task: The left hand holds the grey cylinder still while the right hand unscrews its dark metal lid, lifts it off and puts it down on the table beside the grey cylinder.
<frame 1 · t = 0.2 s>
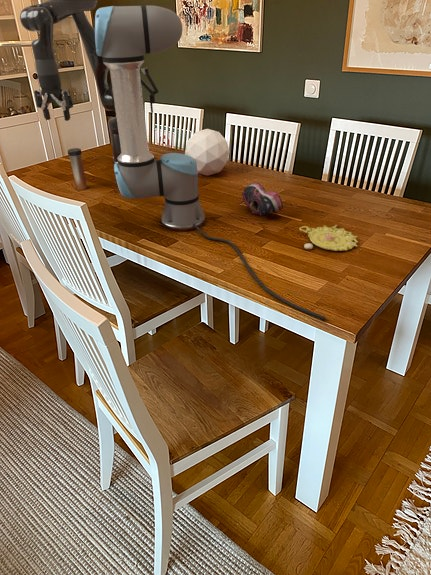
left hand: (57, 120, 168), 29 cm above the table, tool pointing down, fingers open, 8 cm apart
right hand: (135, 113, 181), 28 cm above the table, tool pointing down, fingers open, 13 cm apart
lid: (74, 150, 180), point 16 cm above the table, screwed on, not yet turned
athletic shoe: (257, 211, 163), on the table
sphere: (208, 173, 200), on the table
decorative object: (328, 239, 142), on the table
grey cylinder: (81, 188, 189), on the table
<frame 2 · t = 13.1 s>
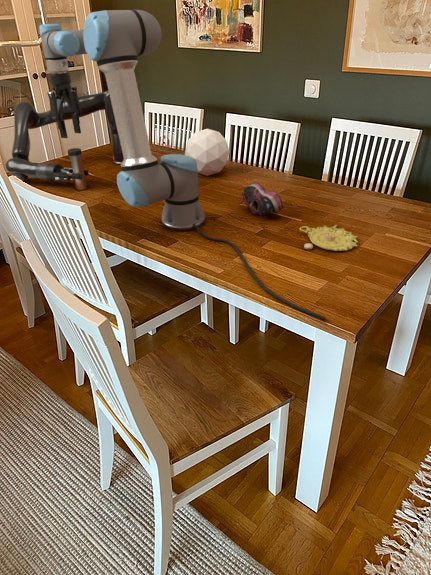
left hand: (84, 175, 185), 6 cm above the table, tool horizontal, fingers closed on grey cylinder, 4 cm apart
right hand: (71, 135, 177), 22 cm above the table, tool pointing down, fingers open, 7 cm apart
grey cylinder: (81, 188, 189), on the table, touching left hand
everything else where it was.
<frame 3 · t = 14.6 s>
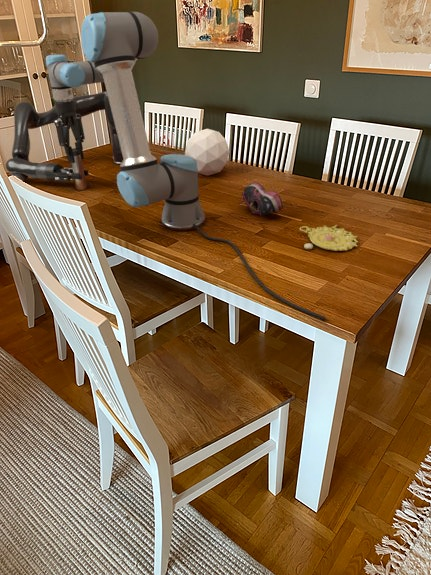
left hand: (84, 175, 185), 6 cm above the table, tool horizontal, fingers closed on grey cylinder, 4 cm apart
right hand: (76, 160, 182), 12 cm above the table, tool pointing down, fingers closed on lid, 5 cm apart
lid: (74, 150, 180), point 16 cm above the table, screwed on, not yet turned, touching right hand
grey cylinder: (81, 188, 189), on the table, touching left hand
everything else where it was.
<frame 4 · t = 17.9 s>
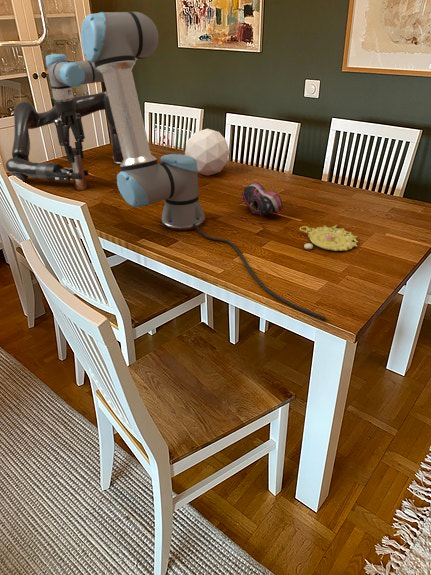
left hand: (84, 175, 185), 6 cm above the table, tool horizontal, fingers closed on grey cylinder, 4 cm apart
right hand: (76, 160, 182), 12 cm above the table, tool pointing down, fingers closed on lid, 5 cm apart
lid: (74, 150, 180), point 16 cm above the table, turned 96° so far, risen 0.2 cm, still on its thread, touching right hand
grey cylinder: (81, 188, 189), on the table, touching left hand
everything else where it was.
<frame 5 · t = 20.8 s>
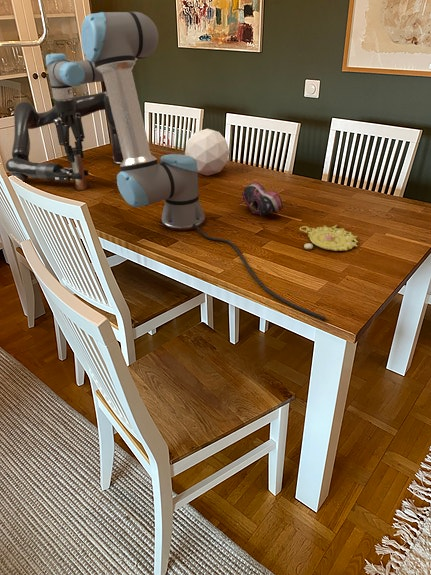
left hand: (84, 175, 185), 6 cm above the table, tool horizontal, fingers closed on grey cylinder, 4 cm apart
right hand: (76, 159, 182), 12 cm above the table, tool pointing down, fingers closed on lid, 5 cm apart
lid: (74, 149, 180), point 16 cm above the table, turned 192° so far, risen 0.3 cm, still on its thread, touching right hand
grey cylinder: (81, 188, 189), on the table, touching left hand
everything else where it was.
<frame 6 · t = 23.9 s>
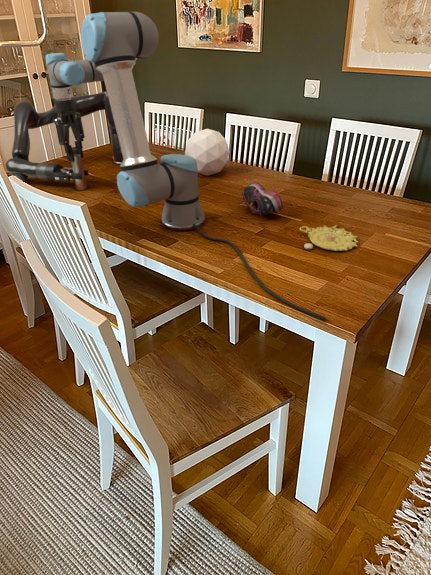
left hand: (84, 175, 185), 6 cm above the table, tool horizontal, fingers closed on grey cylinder, 4 cm apart
right hand: (76, 159, 182), 12 cm above the table, tool pointing down, fingers closed on lid, 5 cm apart
lid: (74, 149, 180), point 16 cm above the table, turned 288° so far, risen 0.5 cm, still on its thread, touching right hand
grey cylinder: (81, 188, 189), on the table, touching left hand
everything else where it was.
when the right hand's fingers open (0 cm above the table, at t = 31.2 s): lid drops 3 cm, point 1 cm above the table.
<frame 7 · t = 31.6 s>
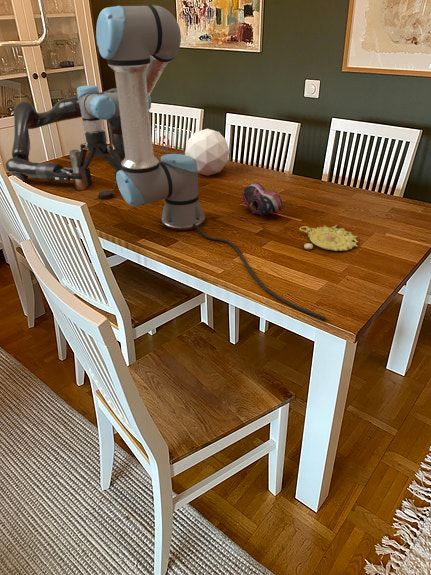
left hand: (84, 175, 185), 6 cm above the table, tool horizontal, fingers closed on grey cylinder, 4 cm apart
right hand: (104, 186, 176), 5 cm above the table, tool pointing down, fingers open, 13 cm apart
lid: (105, 193, 178), point 1 cm above the table, off its thread
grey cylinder: (81, 188, 189), on the table, touching left hand
everything else where it was.
when the left hand's fingers open (6 cm above the table, at t = 31.9 s): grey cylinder stays where it is, on the table.
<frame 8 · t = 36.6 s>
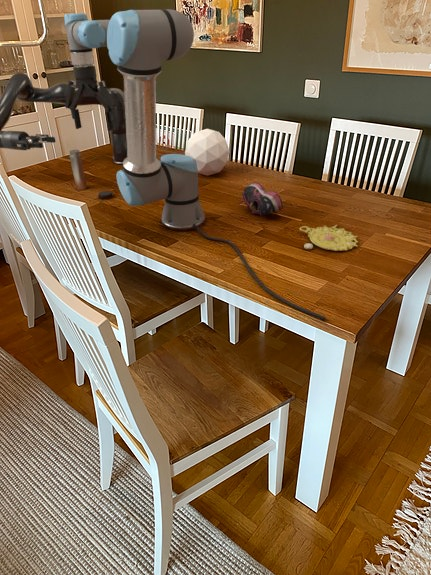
left hand: (48, 142, 182), 19 cm above the table, tool horizontal, fingers open, 8 cm apart
right hand: (94, 129, 165), 27 cm above the table, tool pointing down, fingers open, 13 cm apart
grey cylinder: (81, 188, 189), on the table
everything else where it was.
at the end: lid came off its thread; lid point 1.4 cm above the table; the left hand is holding nothing; the right hand is holding nothing; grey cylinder tilted 0°; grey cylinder moved 0.0 cm from its start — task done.
